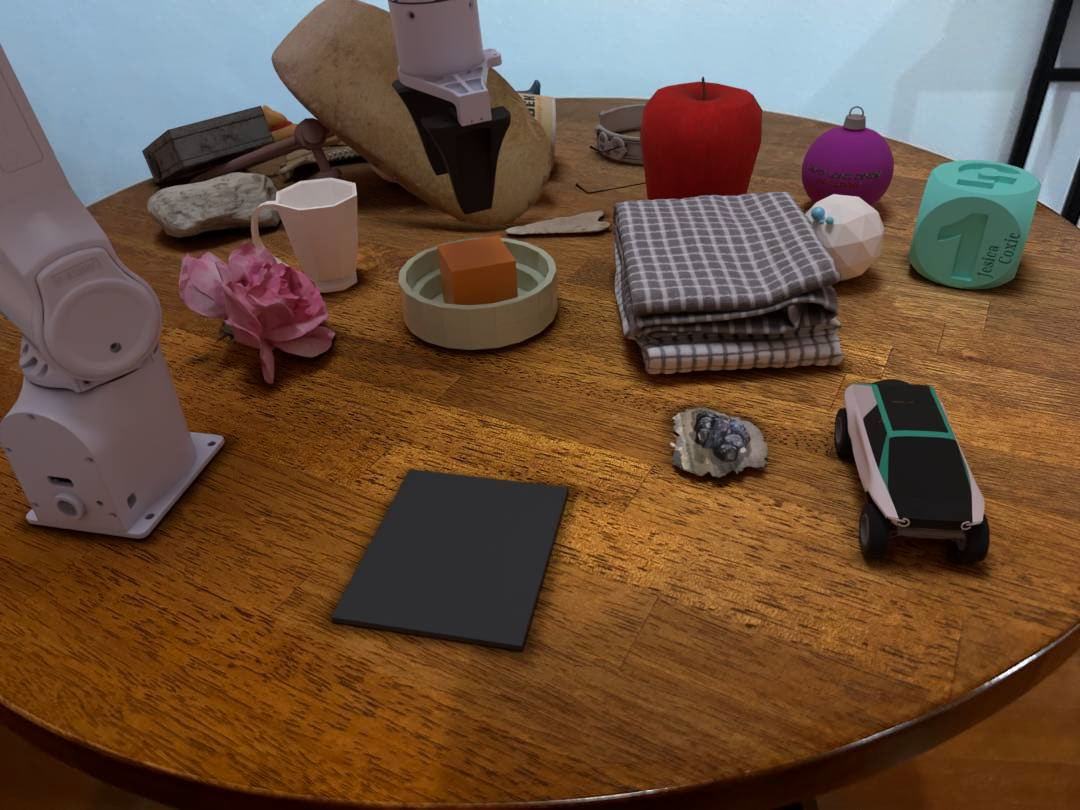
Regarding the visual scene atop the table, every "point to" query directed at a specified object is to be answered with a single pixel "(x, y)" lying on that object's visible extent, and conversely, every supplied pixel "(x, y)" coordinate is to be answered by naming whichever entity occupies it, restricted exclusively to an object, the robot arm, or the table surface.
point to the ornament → (848, 232)
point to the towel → (725, 283)
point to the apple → (699, 140)
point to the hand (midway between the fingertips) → (461, 189)
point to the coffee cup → (543, 115)
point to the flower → (257, 303)
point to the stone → (399, 109)
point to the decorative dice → (973, 223)
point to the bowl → (481, 321)
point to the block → (477, 271)
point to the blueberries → (716, 443)
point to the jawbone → (308, 158)
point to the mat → (457, 560)
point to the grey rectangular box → (207, 143)
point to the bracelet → (608, 139)
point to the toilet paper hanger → (282, 152)
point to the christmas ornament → (848, 162)
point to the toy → (286, 127)
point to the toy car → (910, 469)
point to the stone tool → (565, 225)
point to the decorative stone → (214, 204)
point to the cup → (319, 229)
